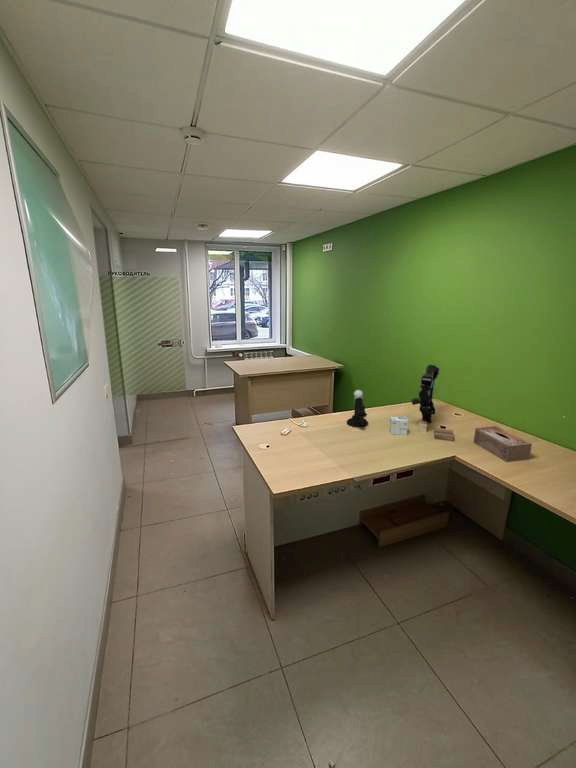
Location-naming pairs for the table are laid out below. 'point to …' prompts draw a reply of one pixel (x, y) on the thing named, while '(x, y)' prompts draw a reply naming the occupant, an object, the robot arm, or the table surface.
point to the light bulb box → (398, 425)
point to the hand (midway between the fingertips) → (423, 416)
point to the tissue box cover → (502, 444)
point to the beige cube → (422, 426)
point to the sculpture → (358, 412)
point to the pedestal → (443, 434)
